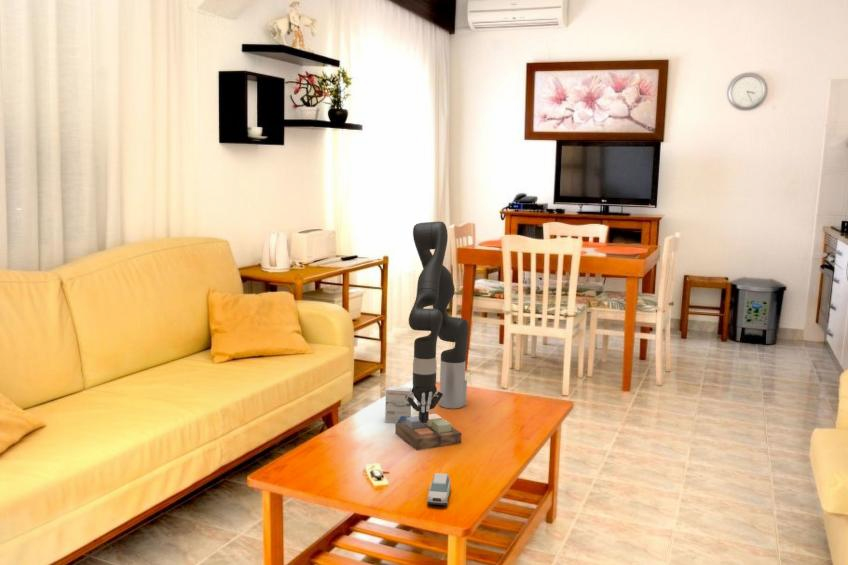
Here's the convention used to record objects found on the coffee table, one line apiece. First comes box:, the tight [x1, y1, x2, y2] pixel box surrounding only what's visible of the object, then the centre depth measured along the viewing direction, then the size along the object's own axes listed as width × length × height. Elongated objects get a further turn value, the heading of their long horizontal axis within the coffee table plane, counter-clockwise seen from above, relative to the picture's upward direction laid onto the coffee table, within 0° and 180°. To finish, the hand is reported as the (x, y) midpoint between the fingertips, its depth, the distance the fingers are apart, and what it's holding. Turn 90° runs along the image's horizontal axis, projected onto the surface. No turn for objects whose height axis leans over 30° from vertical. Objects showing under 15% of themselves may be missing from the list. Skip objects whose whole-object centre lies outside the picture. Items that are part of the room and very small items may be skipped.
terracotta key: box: [414, 428, 433, 436], centre depth 241 cm, size 5×5×2 cm
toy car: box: [426, 472, 452, 507], centre depth 201 cm, size 6×13×5 cm, turn 173°
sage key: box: [432, 419, 452, 433], centre depth 244 cm, size 5×5×2 cm
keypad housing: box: [394, 422, 463, 451], centre depth 246 cm, size 16×16×4 cm
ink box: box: [384, 386, 412, 424], centre depth 261 cm, size 8×5×12 cm, turn 84°
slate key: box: [406, 415, 424, 429], centre depth 247 cm, size 5×5×2 cm
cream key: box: [424, 413, 443, 427], centre depth 249 cm, size 5×5×2 cm
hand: (423, 422), depth 242 cm, fingers closed
